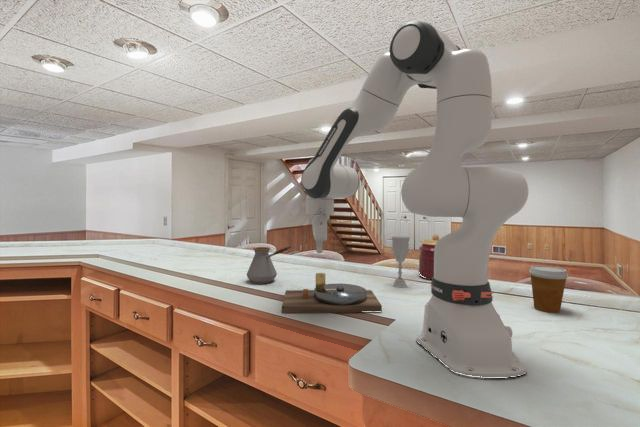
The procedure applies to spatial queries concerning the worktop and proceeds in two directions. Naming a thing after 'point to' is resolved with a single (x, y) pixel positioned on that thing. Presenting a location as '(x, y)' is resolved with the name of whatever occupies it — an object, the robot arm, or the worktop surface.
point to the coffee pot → (263, 265)
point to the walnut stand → (308, 304)
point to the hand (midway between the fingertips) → (319, 252)
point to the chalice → (400, 255)
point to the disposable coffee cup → (548, 287)
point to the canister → (427, 257)
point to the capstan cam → (338, 292)
